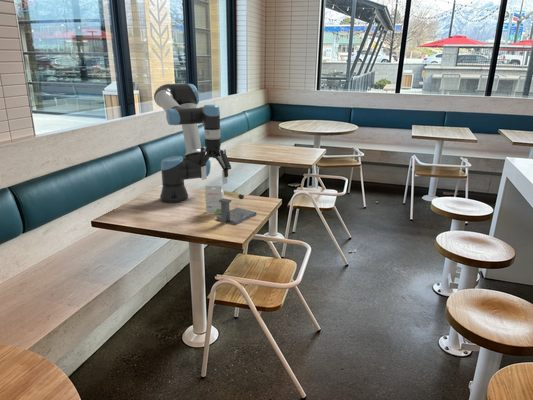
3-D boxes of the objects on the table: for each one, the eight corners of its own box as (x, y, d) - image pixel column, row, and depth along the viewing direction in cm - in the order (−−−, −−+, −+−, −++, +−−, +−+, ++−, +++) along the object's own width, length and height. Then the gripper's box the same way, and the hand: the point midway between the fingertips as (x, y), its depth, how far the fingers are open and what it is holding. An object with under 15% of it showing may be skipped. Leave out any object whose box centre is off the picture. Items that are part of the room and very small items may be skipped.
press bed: (214, 220, 193) (213, 198, 189) (237, 210, 207) (237, 189, 203) (233, 225, 186) (232, 203, 183) (256, 214, 200) (256, 193, 197)
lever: (215, 194, 213) (215, 189, 212) (220, 193, 216) (220, 188, 215) (241, 200, 204) (241, 195, 203) (245, 198, 207) (245, 193, 206)
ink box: (224, 211, 205) (223, 183, 201) (222, 214, 201) (221, 185, 196) (208, 210, 206) (206, 182, 202) (205, 213, 202) (204, 185, 197)
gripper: (188, 136, 196) (190, 179, 202) (227, 141, 182) (228, 187, 188) (199, 134, 201) (201, 176, 208) (238, 139, 188) (239, 183, 194)
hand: (214, 181), depth 198 cm, fingers open, 13 cm apart
